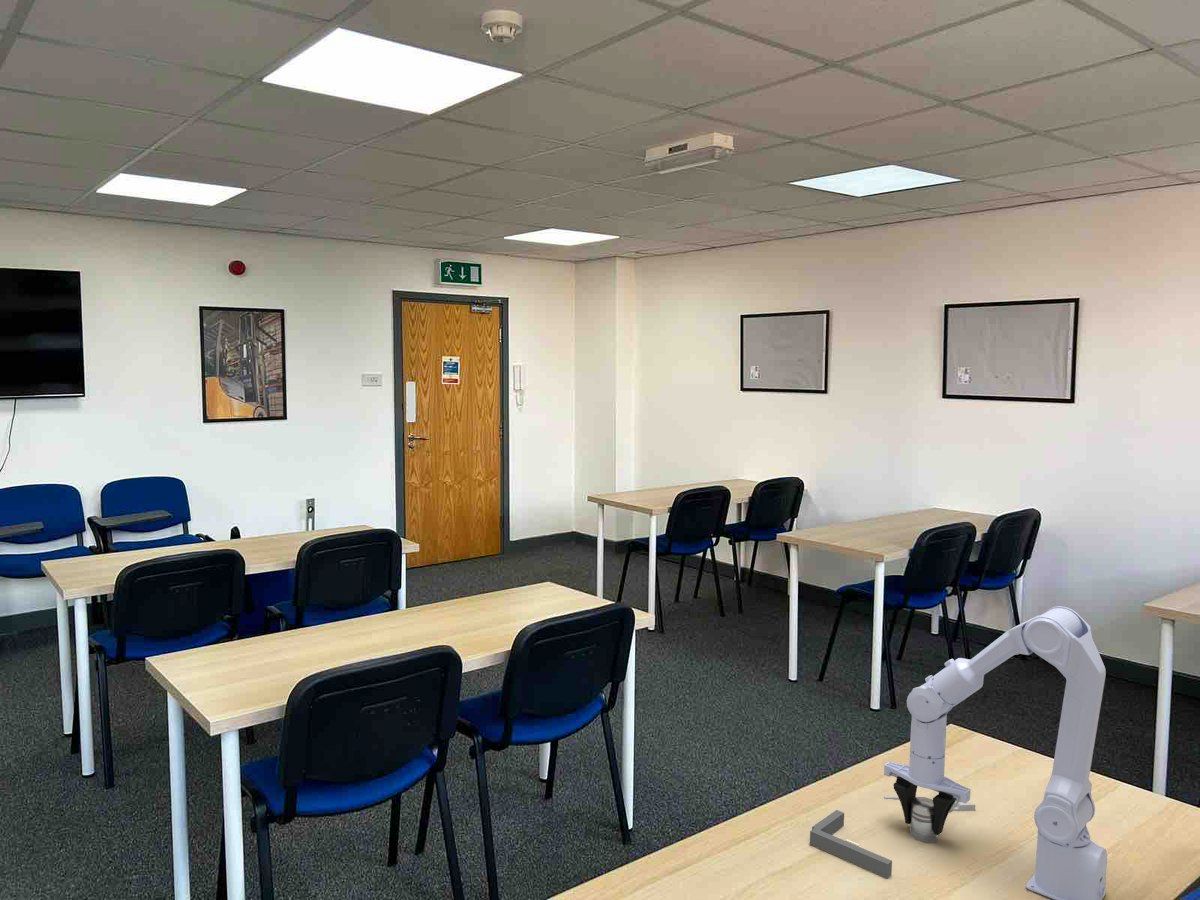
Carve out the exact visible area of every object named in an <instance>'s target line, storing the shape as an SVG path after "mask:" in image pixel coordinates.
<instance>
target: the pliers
mask: <svg viewBox="0 0 1200 900" xmlns="http://www.w3.org/2000/svg"><path fill="white" fill-rule="evenodd" d="M916 797H918V796H917V795H916ZM883 799H884V800H885V799H893V801H895V800H899V797H898V795H897V794H896V795H895V794H894V795H893V794H892V795H886V796H883ZM899 801H900V800H899ZM952 811H953V812H972V811H973V812H975V811H976V803H975V802H967V803H963V802H960V800H959V799H957V800H956V801H955V803H954V804H953V806H952V807H951V809H950V811H949V813H950V812H952ZM910 824H911V823H910ZM910 824H909V825H910Z"/></svg>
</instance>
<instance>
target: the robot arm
mask: <svg viewBox="0 0 1200 900" xmlns="http://www.w3.org/2000/svg"><path fill="white" fill-rule="evenodd" d="M1033 653H1034V654H1035V655H1037V656H1039V657H1040V658H1041V659H1043V660H1045V661H1046V662H1048V663H1049V664H1050V665H1052V666H1053V667H1055V668H1056V669H1057V670H1058V672H1060V673H1061V675H1062V676H1063V677H1064V678H1065V680H1066V682H1065V687H1064V695H1063V701H1062V707H1061V711H1060V719H1059V724H1058V725H1059V726H1058V731H1057V732H1058V733H1057V739H1056V745H1055V751H1054V758H1053V763H1052V771H1051V775H1050V777H1049V781H1048V783H1047V785H1046V788H1045V790H1044V794H1043V795H1044V796H1043V799H1042V801H1041V802H1040V803H1039V805H1038V806H1037V807H1036V808H1035V811H1034V814H1033V819H1034V823H1035V826H1036V828H1037V836H1036V854H1035V870H1034V873H1033V875H1032V876H1031V877H1030V879H1029V880H1028V881H1027V882H1026V883H1025V888H1026V889H1027V890H1029V891H1032V892H1034V893H1037V894H1039V895H1041V896H1044V897H1046V898H1049V899H1052V900H1103V899H1104V897H1105V895H1106V893H1107V890H1106V881H1107V880H1106V879H1107V867H1108V866H1107V865H1108V864H1107V863H1108V852H1107V849H1106V848H1105V847H1102V845H1101V846H1100V845H1098V844H1097V843H1095V842H1094V841H1092V839H1091V834H1090V833H1089V829H1088V827H1087V824H1088V823H1089V822H1090V821H1092V819H1093V818H1094V816H1095V814H1096V813H1095V812H1096V806H1095V803H1094V800H1093V797H1092V789H1093V788H1092V787H1093V784H1092V782H1091V780H1090V773H1091V767H1092V762H1093V761H1092V760H1093V755H1094V749H1095V744H1096V743H1095V742H1096V738H1097V731H1098V725H1099V719H1100V712H1101V705H1102V701H1103V694H1104V688H1105V682H1106V675H1107V674H1106V673H1107V672H1106V667H1105V665H1104V662H1103V660H1102V657H1101V655H1100V652H1099V650H1098V648H1097V646H1096V644H1095V642H1094V639H1093V635H1092V627H1091V625H1090V624H1089V623H1088V622H1087V621H1086V620H1084V619H1083V617H1082V616H1080V614H1079V613H1077V611H1075V610H1074V609H1072V608H1070V607H1067V606H1060V605H1059V606H1058V605H1057V606H1053V607H1051V608H1049V609H1046V611H1044V613H1042V614H1038V615H1036V616H1034V617H1032V618H1030V619H1028V620H1026V621H1024V622H1022V623H1019V624H1018V625H1015V626H1014V627H1012V628H1010V629H1009V630H1007V631H1006V632H1004V633H1003V634H1002V635H1000V636H999V637H998V638H997V639H995V640H994V641H993V642H990V644H989V645H987V646H986V647H985V648H984V649H982V650H981V651H980V652H979V653H977V654H976V655H975V656H974V657H972V658H971V659H968V658H964V657H958V658H956V659H954V658H951V659H948V660H947V661H946V662H944V666H945V667H944V668H943V669H941V670H940V671H938V672H937V673H936V674H935V675H932V674H931V675H930V674H929V675H928V676H927V677H925V678H924V680H925V683H923V684H921V685H920V686H917V687H914V688H912V689H911V691H910V692H909V694H908V695H907V697H906V698H907V699H906V706H907V709H908V712H909V713H910V715H911V724H910V741H909V742H910V743H909V762H908V763H909V765H905V764H900V763H895V762H893V761H888V762H886V763H885V764H884V766H883V767H884V770H883V776H886V777H894V778H896V780H895V782H894V783H893V790H894V792H895V793H896V795H898V797H899V802H900V806H901V808H902V809H901V810H902V812H903V813H902V814H903V816H904V817H903V818H904V822H905V824H907V825H910V823H911V815H910V811H911V802H912V799H913V798H915V797H916V796H917V790H918V787H919V788H924V789H928V790H931V791H933V792H937V793H938V794H936V795H935V796H933V798H932V800H933V805H934V815H935V819H934V834H935V835H937V836H940V834H941V833H943V831H944V826H945V824H946V821H947V818H948V815H949V813H950V812H949V811H950V809H951V807H952V806H953V804H954V803H955V801H956V800H957V799H959V800H960V802H963V803H969V801H970V800H971V790H972V789H971V788H969V787H966V786H964V785H961V784H959V783H958V782H956V781H954V780H952V779H950V778H949V777H947V776H945V766H946V763H945V761H946V742H947V716H948V715H947V714H948V713H949V712H950V711H952V709H953V707H956V706H957V705H959V704H960V703H961V702H963V701H965V700H966V699H967V698H969V697H970V696H971V695H973V694H974V693H976V692H977V691H979V690H981V689H982V688H983V685H984V677H985V675H986V674H987V673H990V671H992V670H993V669H995V668H997V667H999V666H1000V665H1001V664H1002V663H1004V662H1006V661H1007V660H1008V659H1010V658H1012V657H1013V656H1015V655H1017V654H1021V655H1026V656H1030V655H1031V654H1033Z"/></svg>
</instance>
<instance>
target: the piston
mask: <svg viewBox="0 0 1200 900" xmlns="http://www.w3.org/2000/svg"><path fill="white" fill-rule="evenodd" d="M910 815H911V824H909V826H910V828H909V829H910V830H909V835H910V837H911V838H913V839H914V840H915V841H918V842H921V843H927V844H930V843H931V844H932V843H935V842H936V841H937V840H938V835H935V834H934V819H935V815H934V805H933V798H932V799H931V798H929V797H925V796H924V797H923V796H917V797H915V798H913V799H912V802H911V811H910Z"/></svg>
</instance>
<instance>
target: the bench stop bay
mask: <svg viewBox="0 0 1200 900" xmlns="http://www.w3.org/2000/svg"><path fill="white" fill-rule="evenodd" d="M844 825H845V812H843V811H841V810H838V809H836V810H834V811H833V812H832V813H830V814H829V815H827V816H825V817H824V818H823V819H821V820H819V822H817V823H816V824H814V825H813V826H812V827H811V830H810V831H809V845H810V846H812V847H814V848H816V849H819V850H821V851H824V852H826V853H828V854H830V855H833V856H834V857H837V858H839V859H842V860H844V861H846V862H849V863H850V864H853V865H856V866H858V867H860V868H862V869H864V870H867V871H869V872H871V873H873V874H876V875H879V876H880V877H883V878H885V879H889V878H890V877H891V876H892V872H893V871H892V869H893V860H892V859H890V858H887V857H885V856H882V855H880V854H878V853H875V852H872V851H870V850H867V849H866V848H863V847H860V846H861V844H860V843H857V842H855V841H852V840H850V839H845V840H844V839H842V838H839V837H837V836H835V835H833V834H834V833H836V832H837V831H839V830H840V829H841V828H843V827H844ZM842 826H843V827H842Z"/></svg>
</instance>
